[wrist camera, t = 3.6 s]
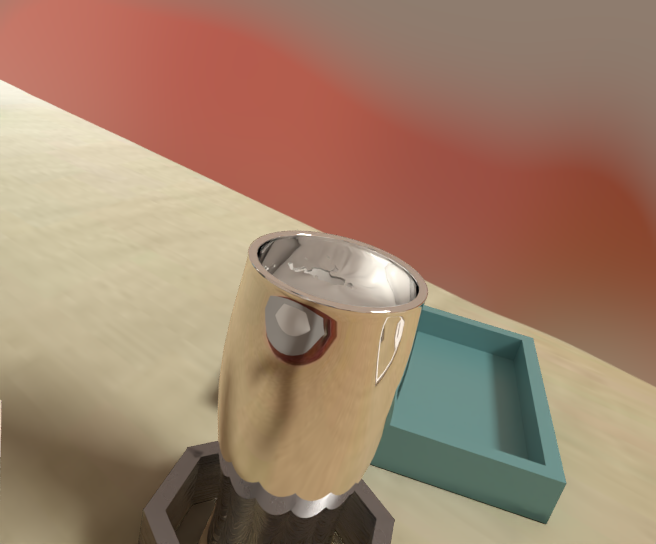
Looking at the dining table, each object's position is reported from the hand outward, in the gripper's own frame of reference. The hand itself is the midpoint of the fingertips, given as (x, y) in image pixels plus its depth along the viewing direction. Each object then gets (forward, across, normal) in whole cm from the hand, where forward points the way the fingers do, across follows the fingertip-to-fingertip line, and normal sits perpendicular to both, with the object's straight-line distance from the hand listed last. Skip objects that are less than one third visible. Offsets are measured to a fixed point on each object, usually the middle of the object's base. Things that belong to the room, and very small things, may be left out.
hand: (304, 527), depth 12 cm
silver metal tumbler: (+10, -1, -13) cm, 17 cm away
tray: (+28, +7, -13) cm, 31 cm away
